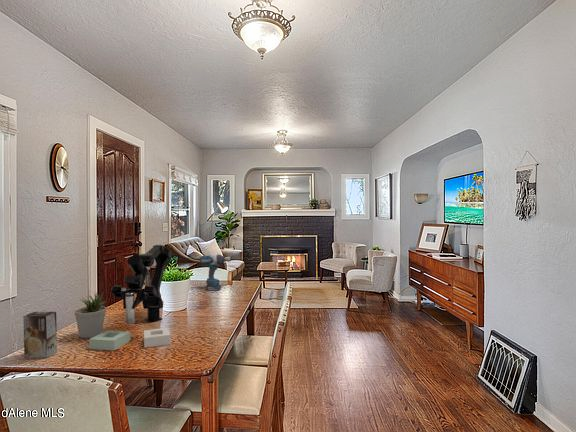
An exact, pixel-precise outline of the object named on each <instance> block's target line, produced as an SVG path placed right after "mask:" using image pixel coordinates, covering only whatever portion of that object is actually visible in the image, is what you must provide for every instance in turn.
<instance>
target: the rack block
mask: <svg viewBox="0 0 576 432" xmlns="http://www.w3.org/2000/svg"><path fill="white" fill-rule="evenodd" d="M131 334H132V333H131V331H130V330H114V329H113V330H112V329H111V330H110V329H109V330H108V329H106V330H103V331H102V333H100V334H98V335H97V336H95V337H92V338H88V339H89V340H88V341H89V350H99V351H114V350H115V351H116V350H118V349H119V348H121V347H123V346H124V345H126V344H127V343H129V342H131Z"/></svg>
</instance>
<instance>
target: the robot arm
mask: <svg viewBox="0 0 576 432" xmlns="http://www.w3.org/2000/svg"><path fill="white" fill-rule="evenodd" d="M172 255H173V254H172V252H171V250H170V249H168V248H167V247H165V246H164V245H162V244H155V245H153V246H152V247H151V248H150V249H149V250H148V251H146V253H141V254H140V253H136V252H135V253H134V254H133V255H132V256H130V257H129V258H128V259H127V261H126V262H127V264H128V266H129V268H130V269H131V271H132V272H133V275H125V276H124V277H125V278H124V282H123V284H126V287H127V288H126V287H123V285H113V286H112V287H111V289H110V292H111V293H112V295H113V296H114V297H115V298H122V302H123V303H122V305H123V309H124V310H126V296H125V294H126V293H128V292H134V294H136V296H135V298H134V304H133V307H132V308H133V309H136V308H137V307H138V306H139V304H140V303H142V307H143V309H147V318H144V321H147V322H149V323H153V322H157V321H161V320H163V317H160V313H161V312H160V310H161V309H163V308H164V300H163V298H162V294H161V293H160V289H161V285H162V281H163V275H164V273H165V268H166V266H167V265H169V264H170V261H171V259H172ZM154 264H155V268H154V270H153V271H154V272H153V274H152V275H153V276H152V279H151V283H150V285H146V279H147V276H149V269H148V268H151V267H153V265H154Z"/></svg>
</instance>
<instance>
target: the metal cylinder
mask: <svg viewBox="0 0 576 432" xmlns="http://www.w3.org/2000/svg"><path fill="white" fill-rule="evenodd" d="M125 296H126V308H125V324H126V325H132V324H135V323H136V321H135V320H136V319H135V318H136V317H135V311H136V310H135V309H136V308H135V309H133V308H132V307H133V304H134V301H135V293H134V292H128V293H126V294H125Z"/></svg>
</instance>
